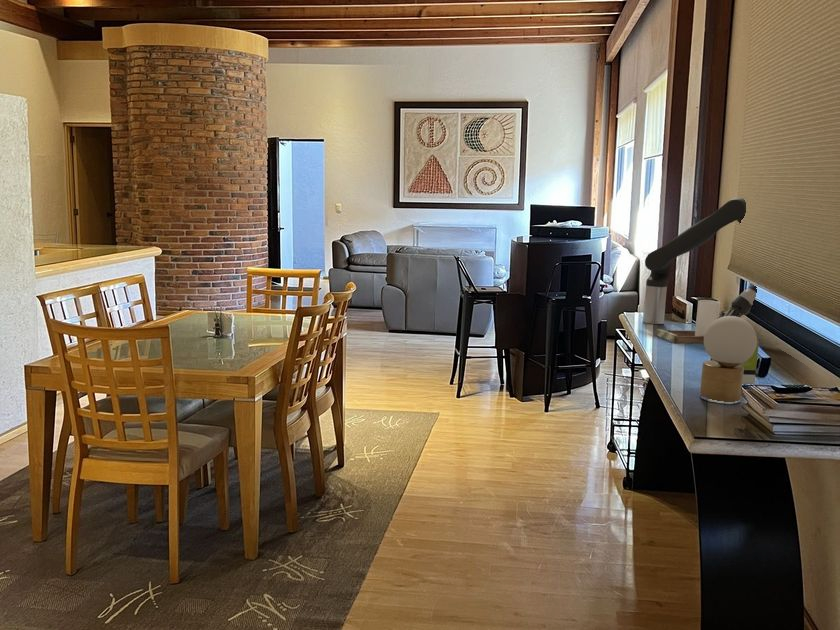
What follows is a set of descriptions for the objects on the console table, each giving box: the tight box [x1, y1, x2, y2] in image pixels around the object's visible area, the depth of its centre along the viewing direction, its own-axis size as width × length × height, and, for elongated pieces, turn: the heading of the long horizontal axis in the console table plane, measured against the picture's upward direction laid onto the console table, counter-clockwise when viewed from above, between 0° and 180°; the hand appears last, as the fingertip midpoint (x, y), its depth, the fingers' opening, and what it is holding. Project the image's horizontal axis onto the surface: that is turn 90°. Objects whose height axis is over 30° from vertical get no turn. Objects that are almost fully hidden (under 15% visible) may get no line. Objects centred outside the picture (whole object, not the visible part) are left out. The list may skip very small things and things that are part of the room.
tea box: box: [709, 340, 760, 385], centre depth 256 cm, size 15×10×15 cm
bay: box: [656, 328, 704, 344], centre depth 328 cm, size 15×24×3 cm, turn 101°
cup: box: [694, 299, 720, 336], centre depth 328 cm, size 8×8×16 cm
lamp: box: [699, 316, 758, 402], centre depth 227 cm, size 15×14×25 cm
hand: (716, 330), depth 330 cm, fingers closed
